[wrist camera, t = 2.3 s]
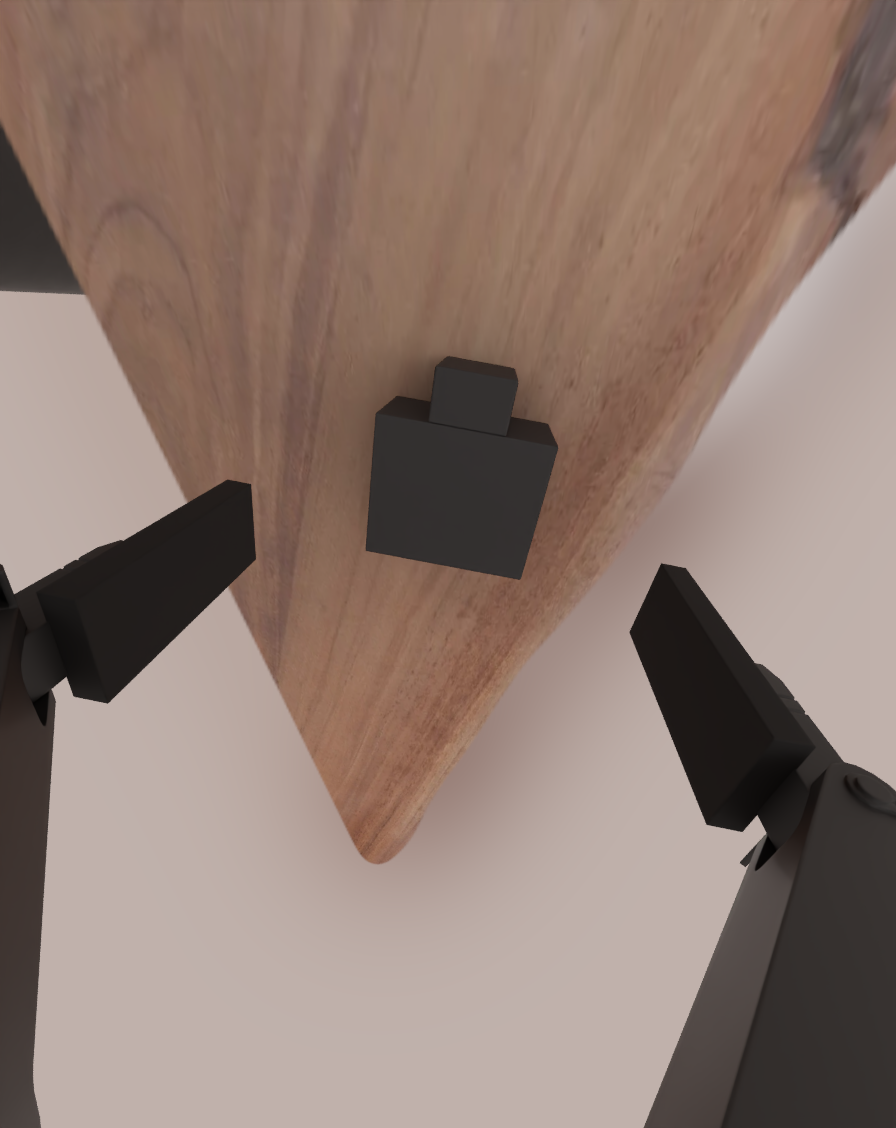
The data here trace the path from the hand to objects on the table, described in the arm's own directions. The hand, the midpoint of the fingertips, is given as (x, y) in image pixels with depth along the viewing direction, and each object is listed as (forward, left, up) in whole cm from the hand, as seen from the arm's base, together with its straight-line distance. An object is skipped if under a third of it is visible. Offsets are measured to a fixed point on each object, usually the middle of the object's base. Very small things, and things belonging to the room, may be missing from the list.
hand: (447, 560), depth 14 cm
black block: (0, 0, -9) cm, 9 cm away
